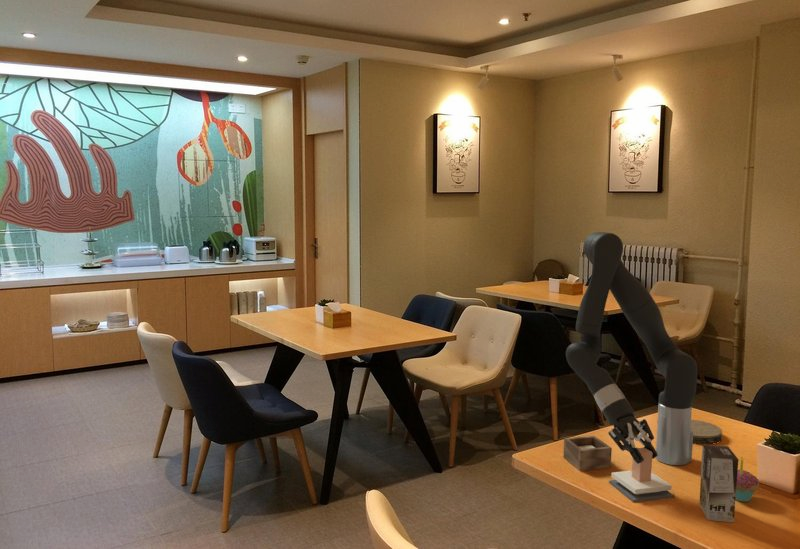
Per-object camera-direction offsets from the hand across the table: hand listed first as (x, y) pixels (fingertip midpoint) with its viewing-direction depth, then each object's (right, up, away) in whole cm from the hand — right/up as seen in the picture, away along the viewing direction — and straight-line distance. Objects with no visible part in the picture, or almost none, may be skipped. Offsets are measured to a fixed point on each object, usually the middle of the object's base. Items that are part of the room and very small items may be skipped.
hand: (647, 459), depth 180 cm
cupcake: (+24, -10, -2) cm, 26 cm away
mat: (-1, -9, +3) cm, 9 cm away
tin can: (+31, -4, +43) cm, 54 cm away
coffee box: (+13, -11, -10) cm, 20 cm away
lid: (-1, -8, +3) cm, 9 cm away
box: (-11, -7, +21) cm, 24 cm away
